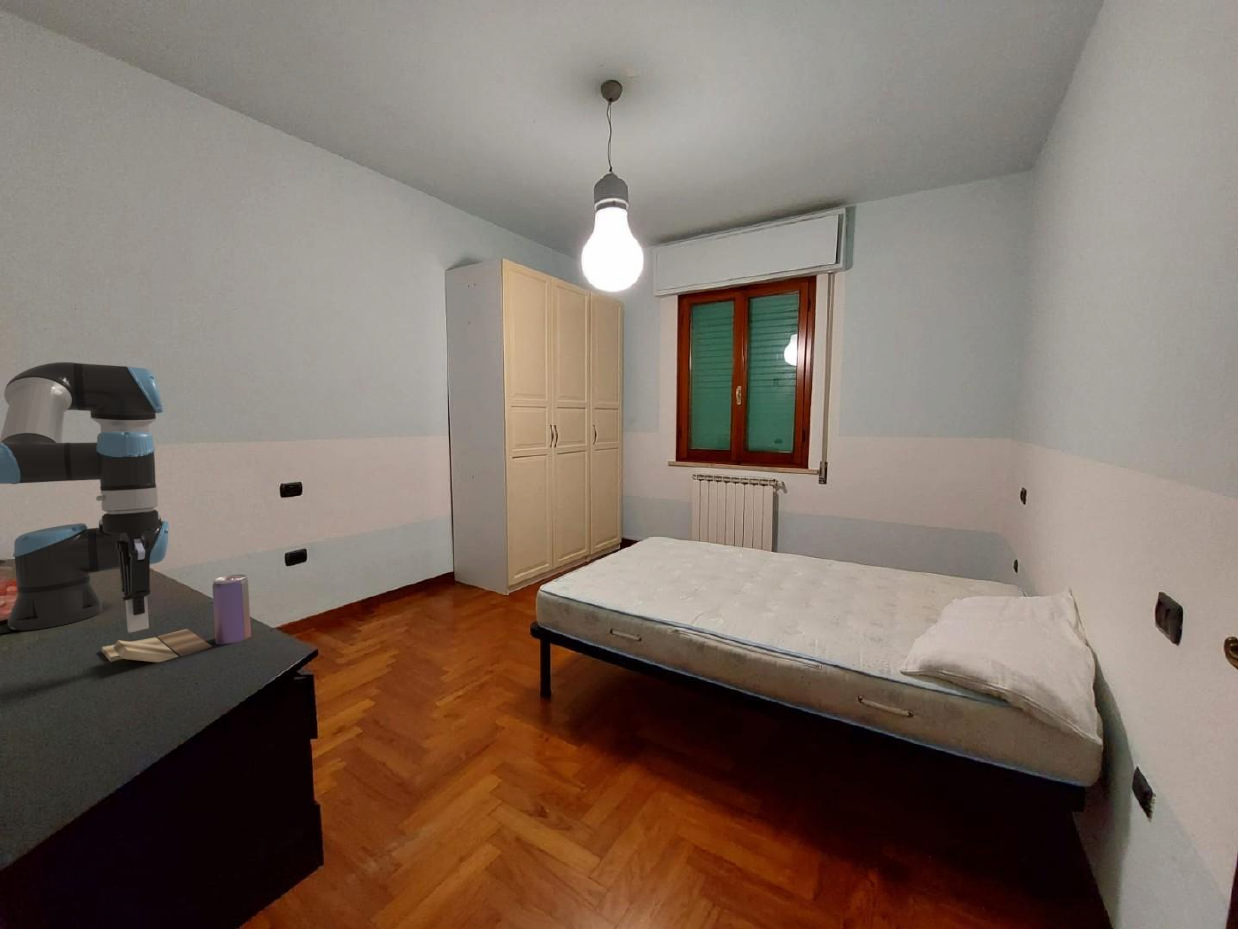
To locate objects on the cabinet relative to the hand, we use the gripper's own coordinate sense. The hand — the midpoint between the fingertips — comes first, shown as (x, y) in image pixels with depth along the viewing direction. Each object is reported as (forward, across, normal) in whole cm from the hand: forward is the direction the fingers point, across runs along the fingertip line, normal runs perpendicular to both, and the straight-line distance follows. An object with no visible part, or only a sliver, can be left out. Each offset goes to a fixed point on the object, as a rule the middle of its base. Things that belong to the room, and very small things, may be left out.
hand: (138, 629), depth 91 cm
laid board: (+8, -5, +8) cm, 12 cm away
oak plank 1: (+7, -9, +1) cm, 12 cm away
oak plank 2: (+6, 0, +1) cm, 6 cm away
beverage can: (+8, +2, +14) cm, 16 cm away
